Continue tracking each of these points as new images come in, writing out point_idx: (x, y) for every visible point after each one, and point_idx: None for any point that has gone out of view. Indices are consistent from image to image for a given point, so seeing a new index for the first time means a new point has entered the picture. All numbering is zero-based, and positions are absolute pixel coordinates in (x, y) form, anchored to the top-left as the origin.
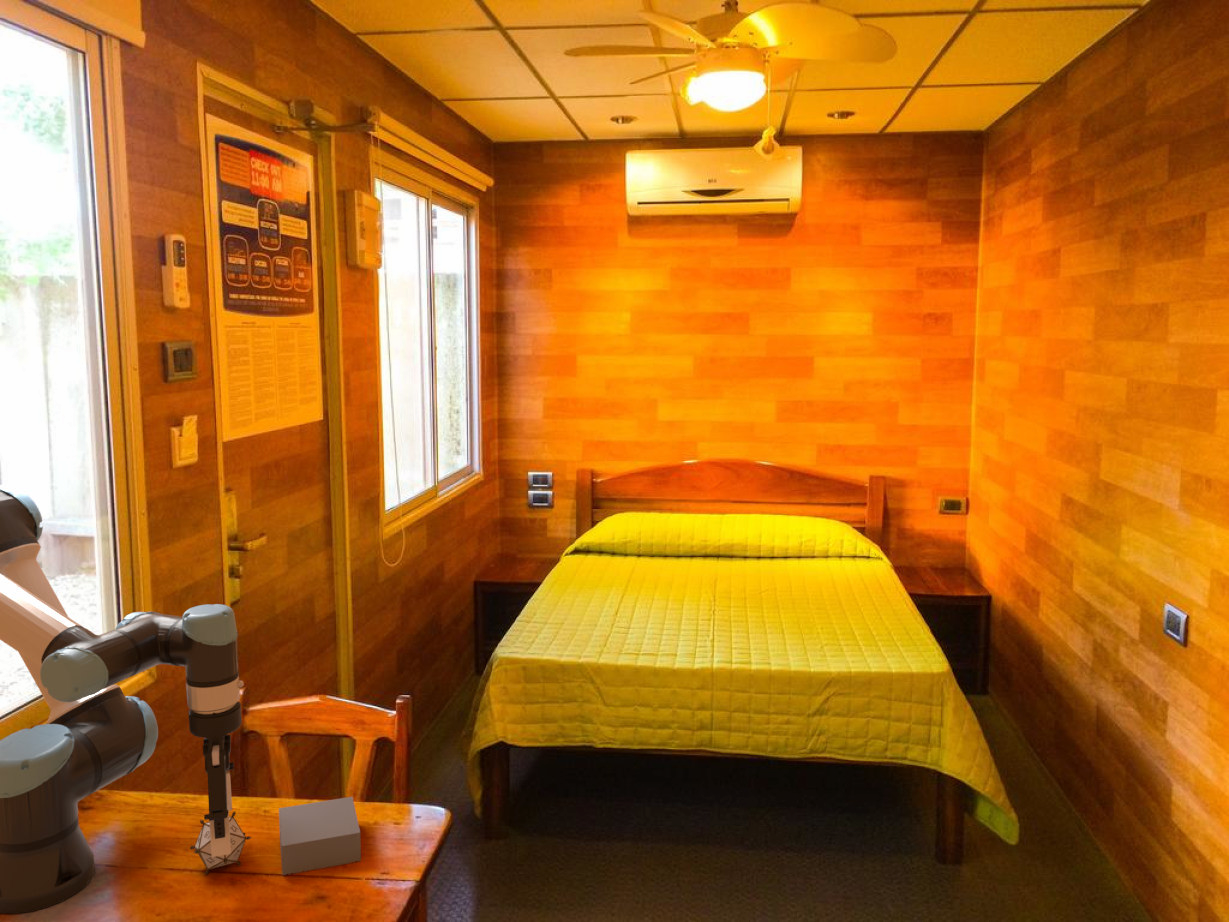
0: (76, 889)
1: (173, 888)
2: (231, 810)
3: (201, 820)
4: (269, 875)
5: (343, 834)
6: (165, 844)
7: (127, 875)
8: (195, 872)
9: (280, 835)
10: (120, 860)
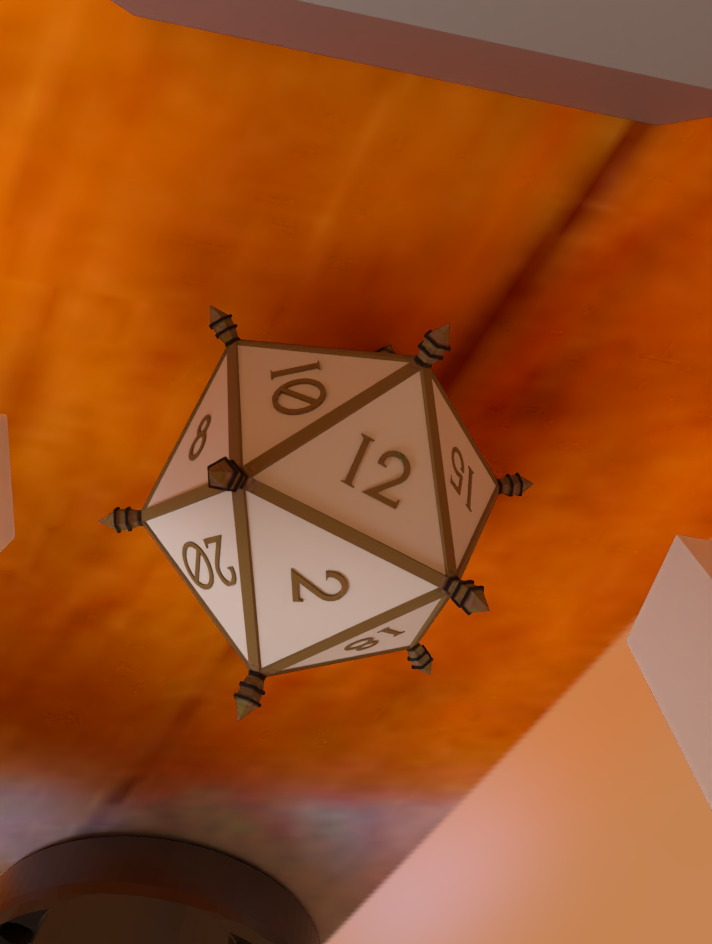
0: (272, 894)
1: None
2: (6, 418)
3: (247, 708)
4: (597, 207)
5: None
6: (15, 624)
7: (223, 757)
8: None
9: (422, 45)
10: (94, 766)
